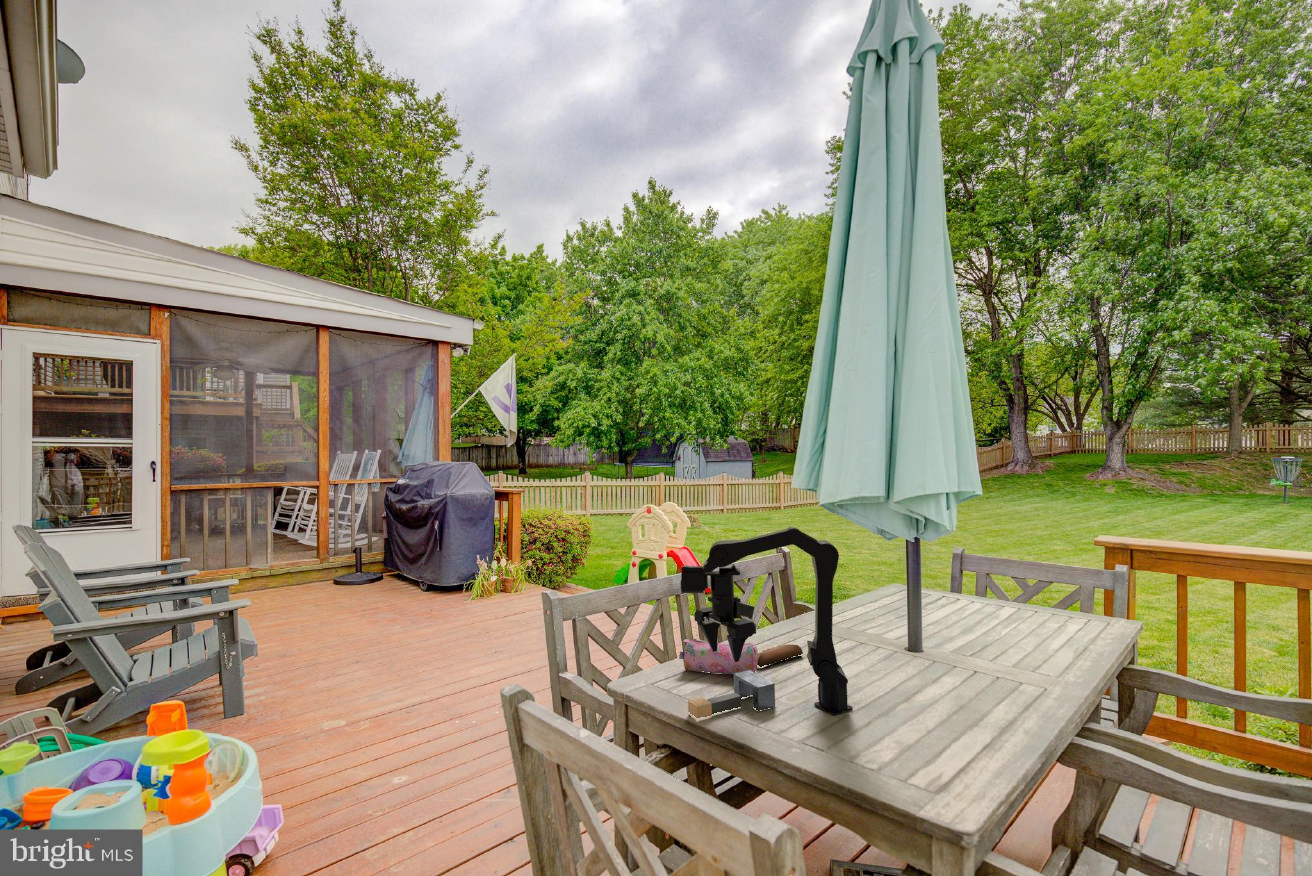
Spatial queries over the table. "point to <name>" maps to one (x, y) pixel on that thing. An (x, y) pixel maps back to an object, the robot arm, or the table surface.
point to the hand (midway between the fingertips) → (725, 656)
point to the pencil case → (718, 658)
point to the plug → (713, 705)
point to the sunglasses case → (778, 654)
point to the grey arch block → (755, 689)
